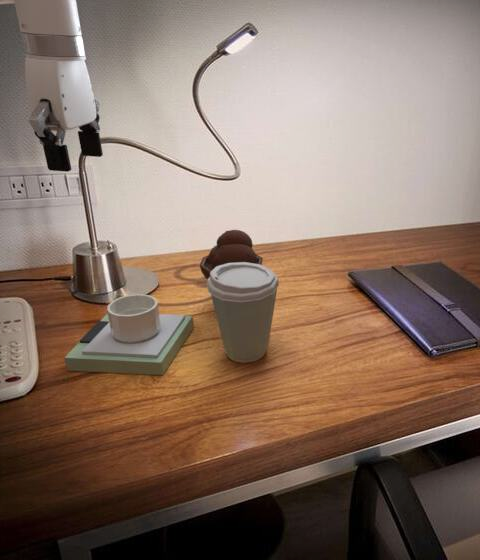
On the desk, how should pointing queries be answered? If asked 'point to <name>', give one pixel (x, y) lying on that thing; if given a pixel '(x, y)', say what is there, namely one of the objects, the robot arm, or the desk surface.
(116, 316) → the bowl
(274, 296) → the disposable coffee cup
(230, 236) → the ice cream bowl
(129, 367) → the scale
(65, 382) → the desk surface
